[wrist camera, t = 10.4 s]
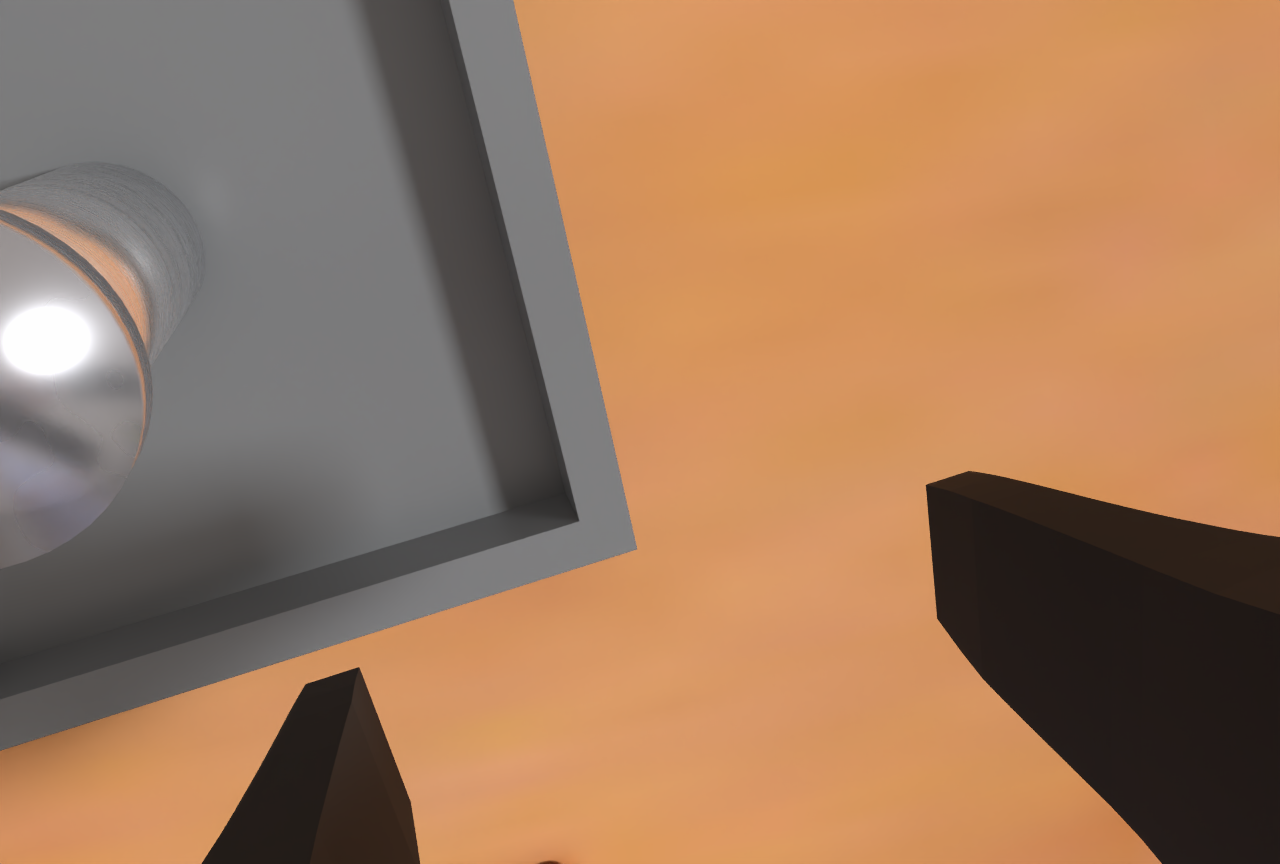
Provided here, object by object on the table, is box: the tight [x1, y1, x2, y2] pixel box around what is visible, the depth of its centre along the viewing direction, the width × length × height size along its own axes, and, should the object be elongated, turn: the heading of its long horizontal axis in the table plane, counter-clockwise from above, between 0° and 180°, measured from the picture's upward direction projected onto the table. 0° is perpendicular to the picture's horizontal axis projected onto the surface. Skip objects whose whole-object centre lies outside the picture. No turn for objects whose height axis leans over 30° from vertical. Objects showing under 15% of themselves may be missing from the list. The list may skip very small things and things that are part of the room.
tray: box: [0, 0, 637, 751], centre depth 16 cm, size 16×14×2 cm
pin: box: [0, 162, 205, 569], centre depth 13 cm, size 4×4×8 cm
